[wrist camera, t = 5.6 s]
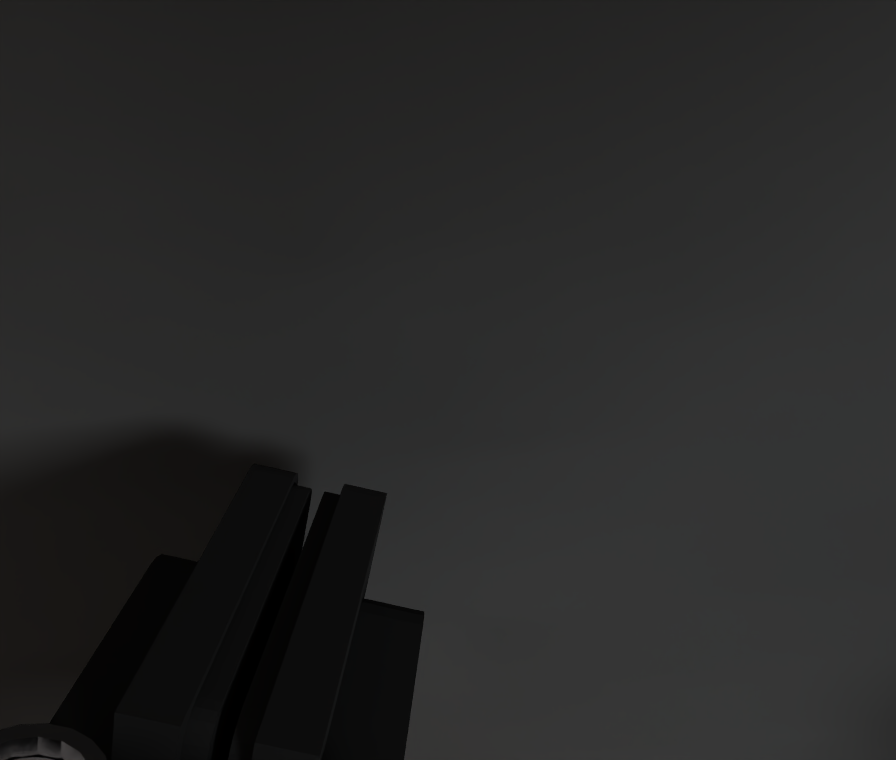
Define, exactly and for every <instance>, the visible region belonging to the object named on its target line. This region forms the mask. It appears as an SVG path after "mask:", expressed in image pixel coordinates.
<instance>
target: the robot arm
mask: <svg viewBox="0 0 896 760" xmlns="http://www.w3.org/2000/svg"><path fill="white" fill-rule="evenodd" d="M297 484H298V474H297V473H293V472H289V471H284V470H280V469H275V468H271V467H266V466H262V465H257V464H253V465H252V467H251V468H250V470H249V472H248V473H247V475H246V477H245V479H244V481H243V482H242V484H241V486H240V488H239V490H238V491H237V493H236V495H235V497H234V499H233V500H232V502H231V504H230V506H229V508H228V509H227V511H226V513H225V515H224V517H223V518H222V520H221V522H220V524H219V526H218V527H217V529H216V531H215V533H214V535H213V536H212V538H211V540H210V542H209V544H208V545H207V547H206V549H205V551H204V552H203V554H202V556H201V558H200V560H199V561H198V562H195V561H191V560H186V559H182V558H177V557H173V556H168V555H164V554H161V555H160V556H158V557H156V559H155V560H154V561H153V562H152V564H151V565H150V566H149V568H148V570H147V571H146V573H145V574H144V576H143V577H142V579H141V581H140V582H139V584H138V585H137V587H136V588H135V590H134V592H133V593H132V595H131V596H130V598H129V599H128V601H127V603H126V604H125V606H124V607H123V609H122V610H121V612H120V614H119V615H118V617H117V618H116V620H115V621H114V623H113V624H112V626H111V628H110V629H109V631H108V632H107V634H106V635H105V637H104V639H103V640H102V642H101V643H100V645H99V646H98V648H97V650H96V651H95V653H94V654H93V656H92V657H91V659H90V661H89V662H88V664H87V665H86V667H85V668H84V670H83V672H82V673H81V675H80V676H79V678H78V679H77V681H76V682H75V684H74V686H73V687H72V689H71V690H70V692H69V693H68V695H67V697H66V698H65V700H64V701H63V703H62V704H61V706H60V708H59V709H58V711H57V712H56V714H55V715H54V717H53V719H52V720H51V722H50V723H49V724H48V723H44V724H20V725H16V726H12V727H8V728H5V729H1V730H0V760H404V755H405V748H406V741H407V734H408V727H409V720H410V713H411V706H412V699H413V692H414V685H415V678H416V671H417V664H418V657H419V650H420V643H421V636H422V629H423V621H424V612H423V611H419V610H414V609H410V608H405V607H400V606H396V605H391V604H387V603H382V602H378V601H373V600H369V599H364V597H365V592H366V587H367V583H368V578H369V574H370V569H371V565H372V560H373V555H374V551H375V546H376V542H377V537H378V533H379V528H380V524H381V519H382V514H383V510H384V505H385V501H386V496H387V493H383V492H379V491H374V490H370V489H365V488H361V487H356V486H352V485H347V484H344V486H343V488H342V491H341V494H340V495H338V494H334V493H329V492H324V494H323V497H322V499H321V502H320V504H319V507H318V510H317V512H316V515H315V518H314V520H313V523H312V525H311V528H310V531H309V533H308V536H307V539H306V541H305V544H304V546H303V541H304V535H305V529H306V524H307V518H308V512H309V506H310V501H311V494H312V489H311V488H307V487H302V486H298V485H297ZM302 546H303V549H302Z"/></svg>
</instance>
